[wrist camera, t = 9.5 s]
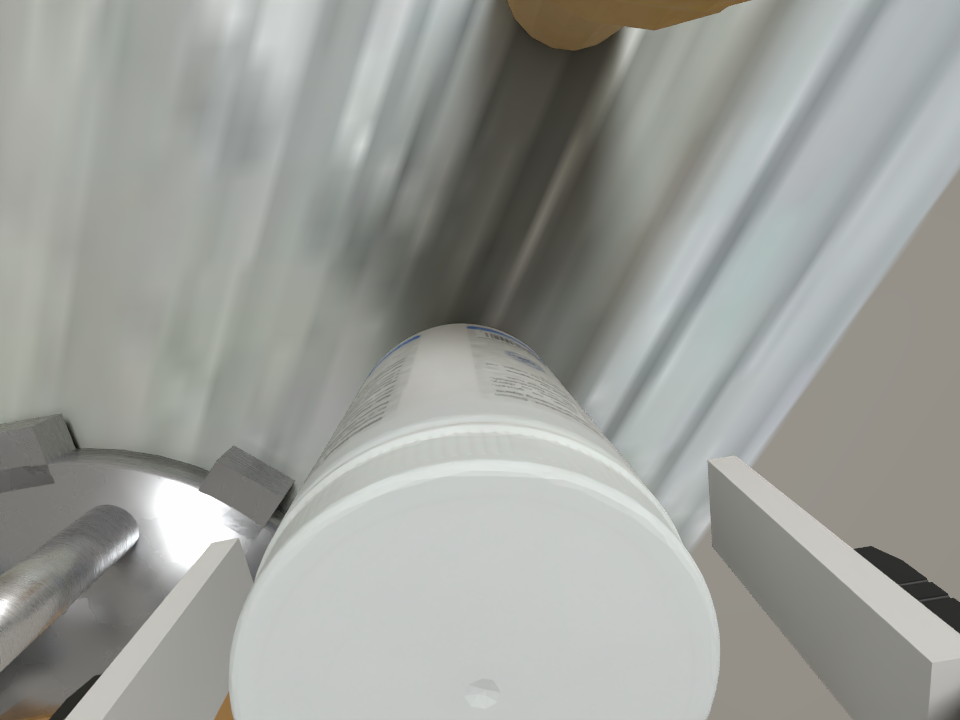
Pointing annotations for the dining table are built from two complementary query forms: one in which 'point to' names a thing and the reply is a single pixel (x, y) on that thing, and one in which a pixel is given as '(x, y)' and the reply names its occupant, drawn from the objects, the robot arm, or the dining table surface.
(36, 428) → the sprocket
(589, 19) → the ice cream cone
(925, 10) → the dining table surface
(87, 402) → the dining table surface
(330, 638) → the supplement tub
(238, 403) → the dining table surface
